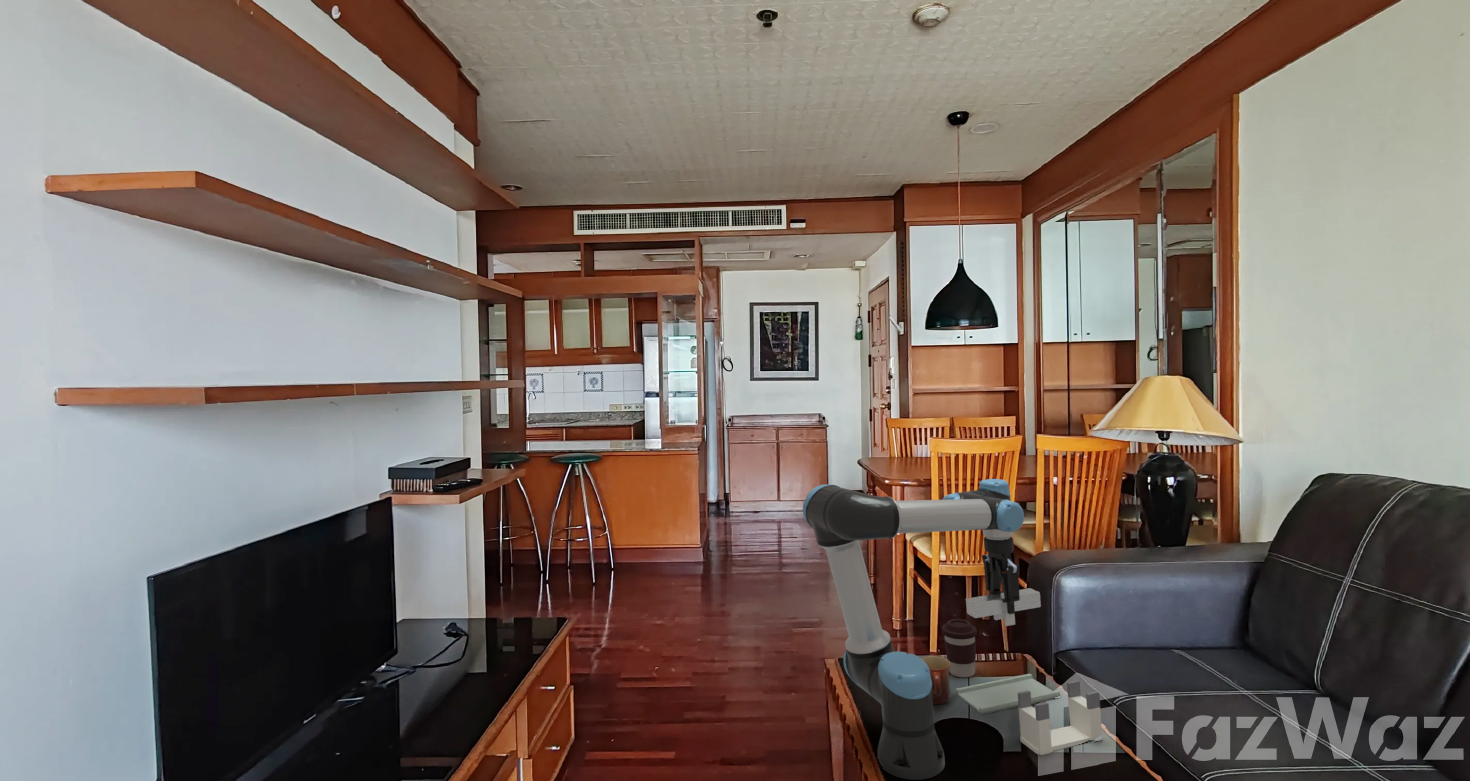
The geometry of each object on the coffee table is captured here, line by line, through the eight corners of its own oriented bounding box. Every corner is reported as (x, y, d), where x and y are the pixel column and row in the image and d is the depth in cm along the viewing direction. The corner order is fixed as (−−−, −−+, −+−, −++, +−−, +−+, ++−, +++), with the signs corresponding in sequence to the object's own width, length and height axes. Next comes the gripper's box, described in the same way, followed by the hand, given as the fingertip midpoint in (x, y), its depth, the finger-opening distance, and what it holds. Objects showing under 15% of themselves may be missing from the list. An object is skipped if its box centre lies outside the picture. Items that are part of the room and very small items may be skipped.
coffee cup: (956, 662, 203) (953, 614, 203) (986, 671, 195) (982, 621, 195) (938, 673, 196) (934, 623, 196) (968, 683, 189) (964, 631, 189)
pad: (981, 714, 171) (981, 708, 171) (956, 694, 183) (955, 688, 183) (1060, 697, 177) (1059, 691, 177) (1030, 678, 189) (1030, 673, 189)
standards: (1039, 755, 152) (1035, 706, 151) (1019, 740, 158) (1015, 692, 158) (1104, 739, 156) (1100, 691, 156) (1082, 725, 163) (1078, 679, 162)
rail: (975, 618, 175) (974, 603, 175) (966, 613, 179) (965, 598, 179) (1040, 606, 179) (1039, 592, 179) (1031, 602, 183) (1030, 587, 183)
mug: (919, 691, 186) (916, 655, 186) (951, 692, 184) (948, 655, 184) (922, 712, 174) (919, 674, 174) (957, 713, 173) (954, 675, 172)
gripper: (1030, 541, 171) (1037, 630, 171) (991, 528, 188) (997, 609, 188) (1005, 545, 169) (1012, 635, 170) (968, 531, 186) (974, 613, 186)
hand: (1004, 621), depth 179 cm, fingers closed on rail, 4 cm apart
